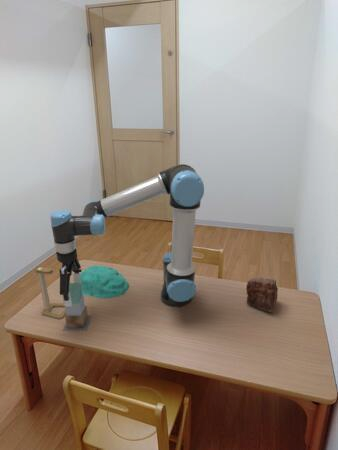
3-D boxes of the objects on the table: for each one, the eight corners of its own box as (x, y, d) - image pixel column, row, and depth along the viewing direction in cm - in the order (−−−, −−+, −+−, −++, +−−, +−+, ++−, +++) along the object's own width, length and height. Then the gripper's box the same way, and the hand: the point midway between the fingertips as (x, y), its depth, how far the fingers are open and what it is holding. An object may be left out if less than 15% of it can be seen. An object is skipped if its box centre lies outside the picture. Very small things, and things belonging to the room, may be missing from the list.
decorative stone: (91, 272, 182) (89, 255, 179) (136, 282, 172) (134, 265, 168) (67, 292, 165) (64, 275, 161) (114, 305, 155) (113, 286, 151)
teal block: (82, 295, 141) (80, 282, 138) (78, 303, 135) (76, 291, 133) (68, 294, 141) (66, 282, 139) (63, 303, 135) (61, 291, 133)
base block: (88, 317, 146) (86, 305, 144) (83, 328, 139) (82, 316, 137) (72, 317, 146) (70, 305, 144) (67, 328, 140) (65, 316, 137)
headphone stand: (62, 320, 145) (54, 277, 136) (39, 317, 147) (29, 274, 138) (73, 305, 154) (66, 264, 146) (51, 303, 157) (43, 262, 148)
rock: (244, 313, 147) (246, 284, 141) (245, 297, 157) (247, 270, 151) (277, 317, 144) (281, 288, 138) (276, 301, 154) (279, 273, 148)
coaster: (92, 316, 147) (92, 315, 147) (86, 331, 138) (86, 330, 138) (69, 315, 148) (69, 315, 148) (62, 331, 139) (62, 330, 138)
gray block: (84, 306, 143) (83, 294, 141) (81, 315, 138) (79, 303, 135) (71, 306, 143) (69, 295, 141) (66, 315, 138) (64, 303, 135)
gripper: (66, 236, 141) (73, 279, 149) (44, 266, 118) (54, 315, 126) (84, 235, 140) (90, 279, 149) (65, 266, 117) (73, 315, 126)
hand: (73, 295), depth 137 cm, fingers open, 13 cm apart
